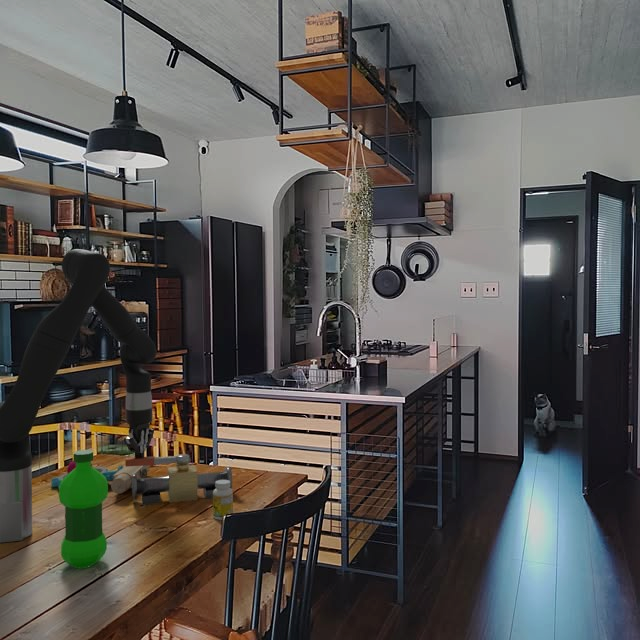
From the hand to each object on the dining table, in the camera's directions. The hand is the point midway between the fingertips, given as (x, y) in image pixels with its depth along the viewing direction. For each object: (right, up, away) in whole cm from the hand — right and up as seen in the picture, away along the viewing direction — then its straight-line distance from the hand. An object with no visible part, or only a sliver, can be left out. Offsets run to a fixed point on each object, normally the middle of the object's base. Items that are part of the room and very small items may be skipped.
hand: (139, 464), depth 181 cm
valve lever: (+6, +1, -2) cm, 6 cm away
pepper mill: (-7, -11, -27) cm, 30 cm away
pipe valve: (+13, -10, 0) cm, 16 cm away
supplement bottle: (+27, -11, -16) cm, 33 cm away
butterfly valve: (-16, -10, +11) cm, 21 cm away
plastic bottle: (+1, -12, -45) cm, 46 cm away
